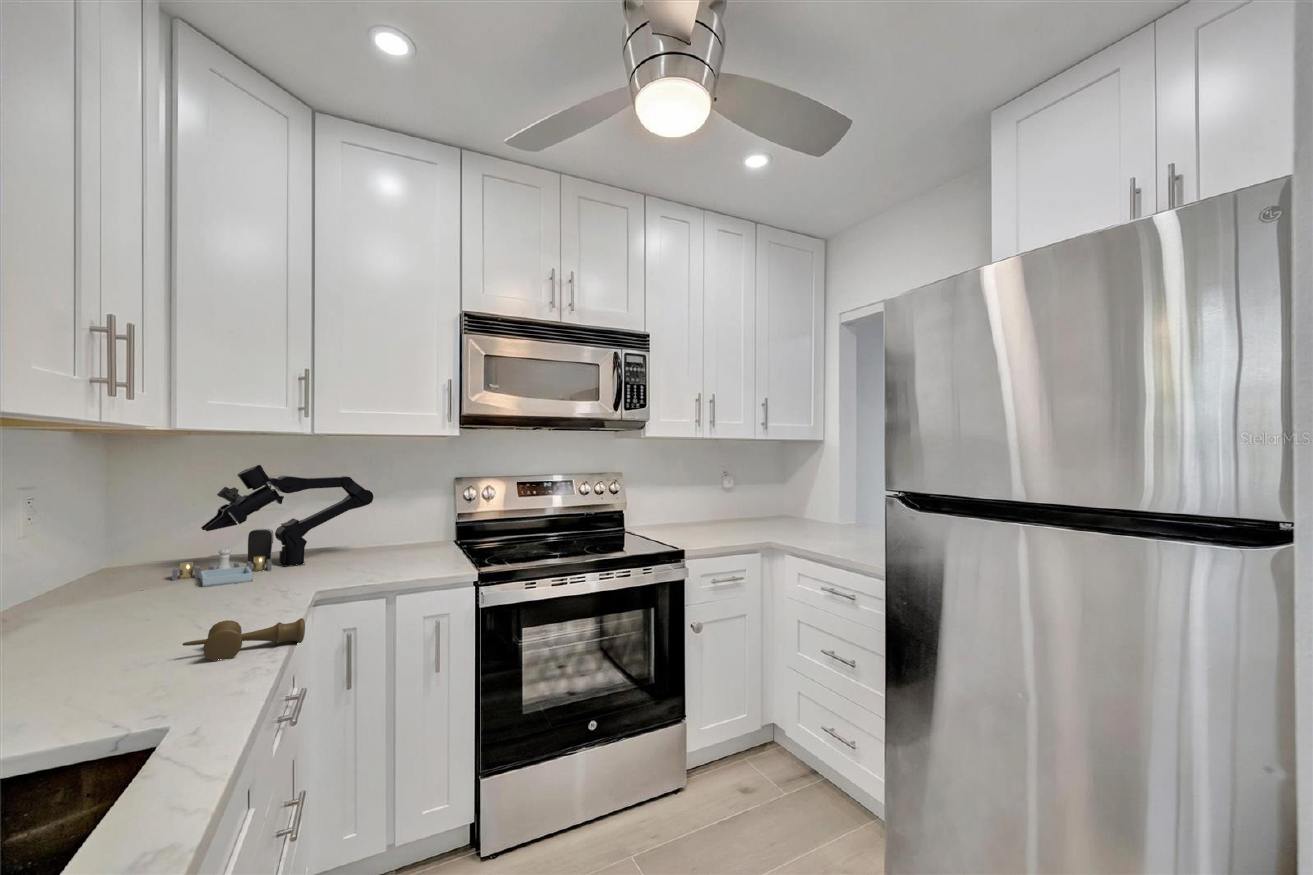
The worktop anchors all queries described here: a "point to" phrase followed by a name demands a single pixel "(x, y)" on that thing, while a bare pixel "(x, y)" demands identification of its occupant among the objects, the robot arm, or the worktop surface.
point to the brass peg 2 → (259, 563)
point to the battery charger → (260, 544)
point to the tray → (226, 576)
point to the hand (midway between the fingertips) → (203, 529)
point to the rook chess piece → (224, 558)
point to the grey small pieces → (211, 567)
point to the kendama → (245, 637)
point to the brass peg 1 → (186, 570)
